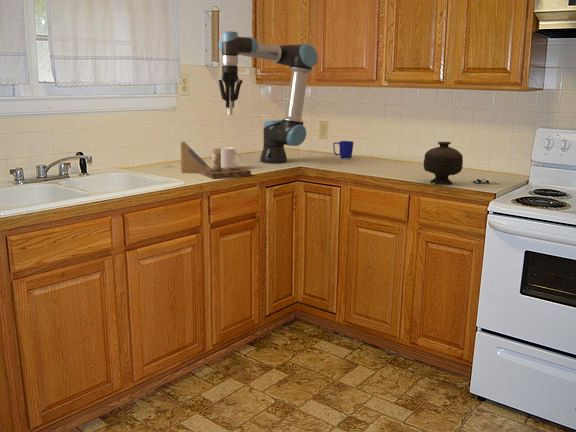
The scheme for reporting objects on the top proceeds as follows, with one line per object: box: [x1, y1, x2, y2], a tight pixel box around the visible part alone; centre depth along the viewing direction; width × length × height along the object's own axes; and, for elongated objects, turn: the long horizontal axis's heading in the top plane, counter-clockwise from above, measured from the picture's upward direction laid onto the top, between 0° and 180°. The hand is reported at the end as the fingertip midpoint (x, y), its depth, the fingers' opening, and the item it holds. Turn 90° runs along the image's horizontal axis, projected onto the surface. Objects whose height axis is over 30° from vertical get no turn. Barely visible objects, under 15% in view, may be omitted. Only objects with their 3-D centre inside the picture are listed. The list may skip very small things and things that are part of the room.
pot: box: [423, 141, 464, 185], centre depth 268 cm, size 18×18×20 cm
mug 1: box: [218, 146, 242, 168], centre depth 297 cm, size 9×12×11 cm
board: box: [200, 166, 252, 180], centre depth 278 cm, size 20×14×2 cm
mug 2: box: [332, 140, 354, 159], centre depth 345 cm, size 8×12×10 cm
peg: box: [211, 147, 221, 172], centre depth 275 cm, size 4×4×13 cm
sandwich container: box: [180, 141, 212, 174], centre depth 284 cm, size 9×15×15 cm, turn 91°
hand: (229, 114), depth 282 cm, fingers closed
